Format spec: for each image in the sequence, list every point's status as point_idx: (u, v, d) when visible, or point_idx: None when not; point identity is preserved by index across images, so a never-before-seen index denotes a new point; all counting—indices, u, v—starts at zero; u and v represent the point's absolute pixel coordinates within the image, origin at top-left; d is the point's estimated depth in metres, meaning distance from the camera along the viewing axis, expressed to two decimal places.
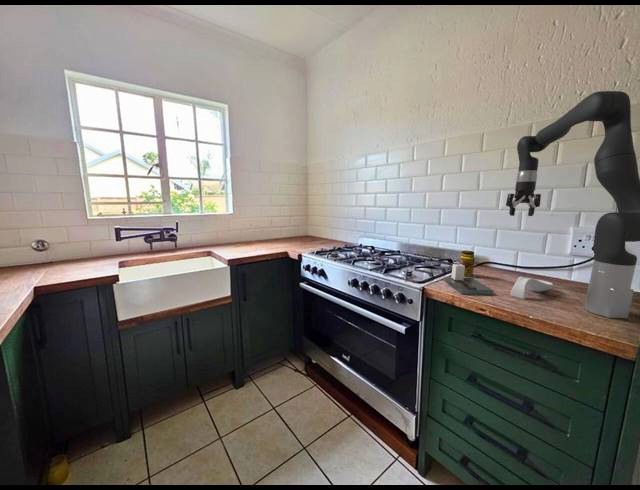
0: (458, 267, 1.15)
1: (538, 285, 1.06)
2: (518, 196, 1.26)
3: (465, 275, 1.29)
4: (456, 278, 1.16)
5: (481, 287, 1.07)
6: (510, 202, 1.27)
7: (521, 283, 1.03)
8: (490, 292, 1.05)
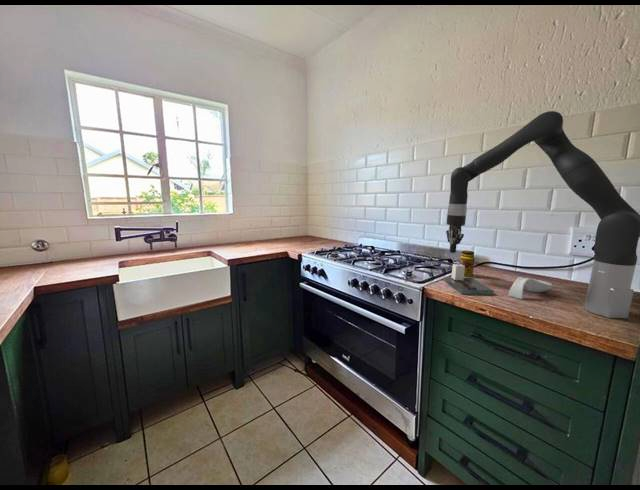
0: (458, 267, 1.15)
1: (537, 285, 1.06)
2: None
3: (465, 275, 1.29)
4: (456, 278, 1.16)
5: (481, 287, 1.07)
6: None
7: (519, 283, 1.03)
8: (490, 292, 1.05)
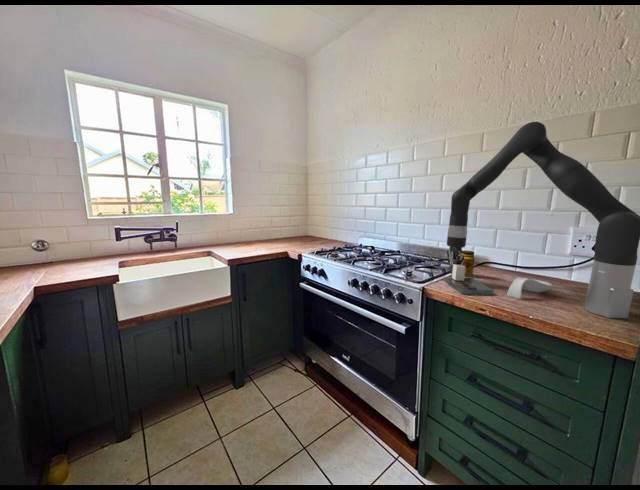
0: (458, 267, 1.15)
1: (536, 285, 1.06)
2: None
3: (465, 275, 1.29)
4: (456, 278, 1.15)
5: (481, 287, 1.07)
6: None
7: (518, 283, 1.03)
8: (490, 292, 1.05)
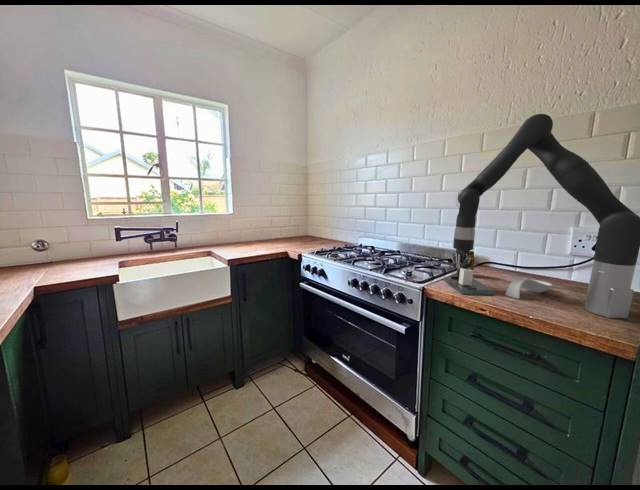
0: (466, 271, 1.08)
1: (535, 286, 1.06)
2: None
3: None
4: (464, 283, 1.09)
5: (481, 287, 1.07)
6: None
7: (516, 283, 1.03)
8: (490, 292, 1.05)
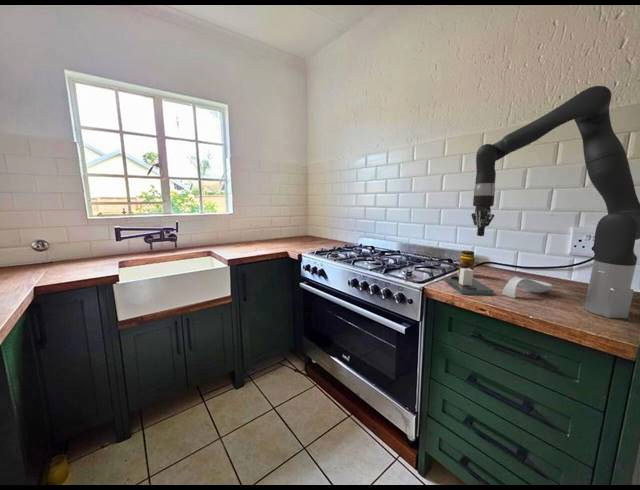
0: (466, 272, 1.08)
1: (534, 286, 1.06)
2: None
3: None
4: (464, 283, 1.09)
5: (481, 287, 1.07)
6: None
7: (513, 282, 1.03)
8: (490, 292, 1.05)
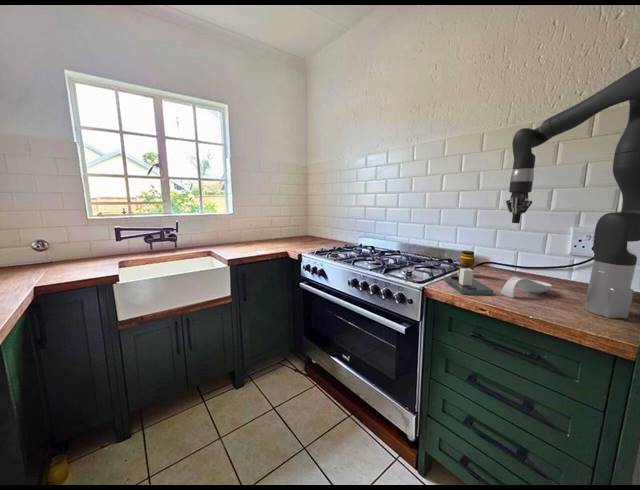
0: (466, 272, 1.08)
1: (533, 286, 1.05)
2: None
3: None
4: (464, 283, 1.09)
5: (481, 287, 1.07)
6: None
7: (512, 282, 1.03)
8: (490, 292, 1.05)
